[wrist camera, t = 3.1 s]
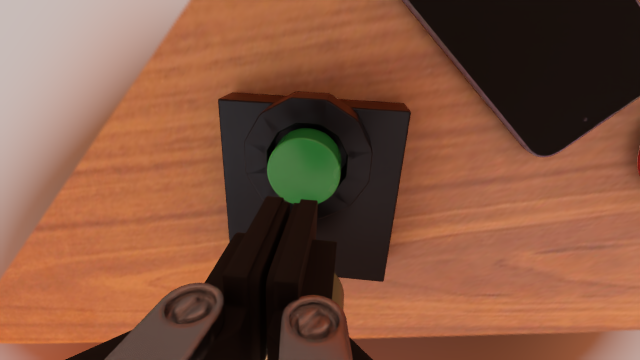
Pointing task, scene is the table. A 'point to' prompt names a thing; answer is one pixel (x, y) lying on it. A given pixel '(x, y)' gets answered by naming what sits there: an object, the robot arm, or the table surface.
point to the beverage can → (638, 161)
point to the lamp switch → (305, 166)
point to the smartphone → (542, 61)
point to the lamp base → (356, 168)
